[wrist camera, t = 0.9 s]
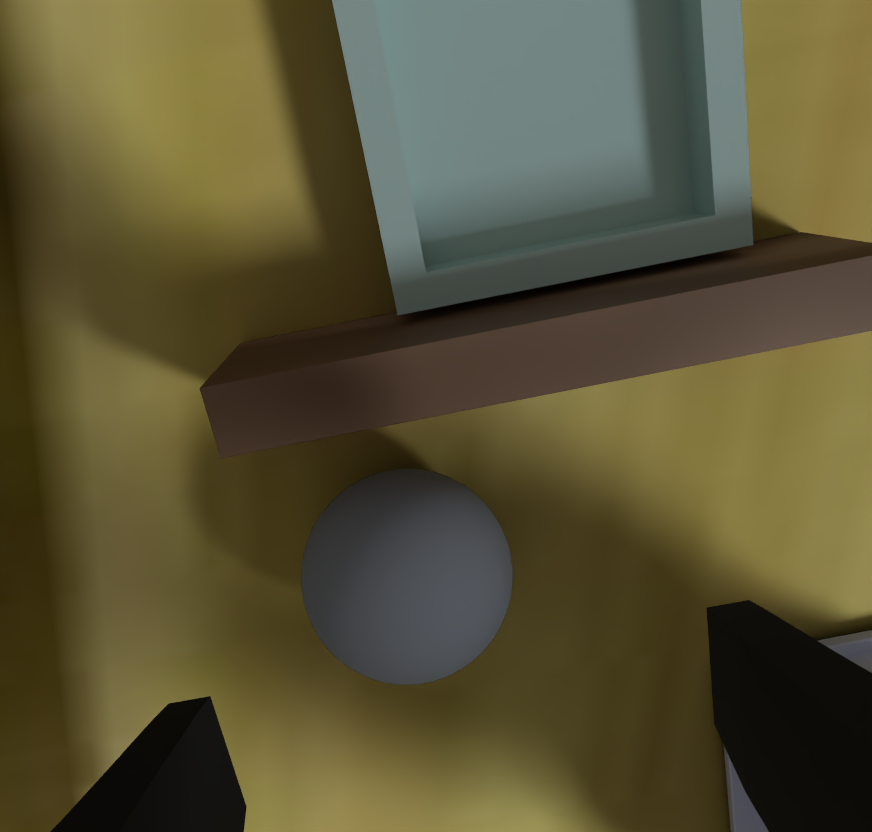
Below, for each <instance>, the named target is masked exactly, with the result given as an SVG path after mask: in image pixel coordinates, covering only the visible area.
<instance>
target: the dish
mask: <svg viewBox="0 0 872 832" xmlns="http://www.w3.org/2000/svg"><path fill="white" fill-rule="evenodd" d="M332 3H333V7H334V12H335V17H336V22H337V27H338V31H339V36H340V41H341V46H342V51H343V55H344V60H345V65H346V70H347V75H348V79H349V84H350V89H351V94H352V99H353V103H354V108H355V113H356V118H357V123H358V127H359V132H360V137H361V142H362V147H363V151H364V156H365V161H366V166H367V171H368V175H369V180H370V185H371V190H372V195H373V199H374V204H375V209H376V214H377V219H378V224H379V228H380V233H381V238H382V243H383V248H384V252H385V257H386V262H387V267H388V272H389V276H390V281H391V286H392V291H393V296H394V300H395V305H396V310H397V315H402V314H407V313H412V312H417V311H422V310H427V309H432V308H437V307H442V306H447V305H452V304H457V303H462V302H468V301H473V300H478V299H483V298H488V297H493V296H498V295H503V294H508V293H513V292H518V291H523V290H528V289H533V288H538V287H543V286H548V285H553V284H558V283H564V282H569V281H574V280H579V279H584V278H589V277H594V276H599V275H604V274H609V273H614V272H619V271H624V270H629V269H634V268H639V267H644V266H649V265H655V264H660V263H665V262H670V261H675V260H680V259H685V258H690V257H695V256H700V255H705V254H710V253H715V252H720V251H725V250H730V249H735V248H740V247H745V246H751V245H753V227H752V208H751V188H750V169H749V149H748V130H747V111H746V91H745V72H744V52H743V33H742V14H741V0H332Z"/></svg>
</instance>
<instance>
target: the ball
mask: <svg viewBox="0 0 872 832" xmlns="http://www.w3.org/2000/svg"><path fill="white" fill-rule="evenodd" d="M512 579H513V570H512V560H511V554H510V550H509V546H508V542H507V540H506V537H505V535H504V532H503V530H502V528H501V526H500V524H499V522H498V520H497V519H496V517H495V515H494V514H493V512H492V511H491V510H490V509H489V508H488V506H487V505H486V504H485V503H484V502H483V500H482V499H480V498H479V497H478V496H477V495H476V494H475V493H474V492H473V491H471V490H470V489H469V488H467V487H466V486H464V485H463V484H461V483H459V482H457V481H455V480H454V479H452V478H450V477H447V476H444V475H442V474H439V473H436V472H432V471H428V470H421V469H395V470H387V471H384V472H380V473H376V474H373V475H371V476H368V477H366V478H364V479H362V480H360V481H358V482H356V483H354V484H353V485H351V486H349V487H348V488H347V489H345V490H344V491H343V492H341V493H340V494H339V495H338V496H337V497H336V498H335V499H334V500H332V501H331V503H330V504H329V505H328V506H327V508H326V509H325V510H324V511H323V513H322V514H321V515H320V516H319V518H318V520H317V521H316V523H315V525H314V527H313V529H312V531H311V534H310V536H309V538H308V541H307V544H306V547H305V551H304V555H303V561H302V571H301V586H302V594H303V600H304V604H305V609H306V611H307V614H308V617H309V619H310V622H311V624H312V626H313V628H314V630H315V632H316V634H317V635H318V637H319V638H320V640H321V641H322V642H323V644H324V645H325V646H326V647H327V649H328V650H329V651H330V652H331V653H332V654H333V655H334V656H335V657H336V658H337V659H338V660H339V661H341V662H342V663H343V664H344V665H346V666H347V667H349V668H351V669H352V670H354V671H356V672H357V673H359V674H361V675H364V676H366V677H368V678H370V679H374V680H377V681H380V682H384V683H390V684H399V685H415V684H422V683H428V682H432V681H436V680H439V679H442V678H444V677H447V676H449V675H451V674H453V673H455V672H457V671H459V670H460V669H462V668H463V667H465V666H466V665H468V664H469V663H471V662H472V661H473V660H474V659H475V658H476V657H478V656H479V655H480V654H481V653H482V652H483V651H484V649H485V648H486V647H487V646H488V645H489V643H490V642H491V641H492V639H493V638H494V636H495V635H496V633H497V632H498V630H499V628H500V626H501V624H502V622H503V620H504V617H505V614H506V612H507V609H508V606H509V602H510V597H511V592H512Z"/></svg>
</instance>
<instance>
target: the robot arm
mask: <svg viewBox="0 0 872 832" xmlns="http://www.w3.org/2000/svg"><path fill="white" fill-rule="evenodd" d="M707 620H708V635H709V650H710V665H711V680H712V695H713V710H714V724H715V726H716V728H717V731H718V733H719V735H720V738H721V740H722V742H723V744H724V756H725V768H726V780H727V792H728V805H729V817H730V829H731V832H872V630H870V631H864V632H859V633H854V634H849V635H844V636H838V637H833V638H828V639H823V640H815V639H813V638H812V637H810V636H808V635H807V634H805V633H803V632H802V631H800V630H799V629H797V628H795V627H794V626H792V625H790V624H789V623H787V622H785V621H784V620H782V619H780V618H779V617H777V616H775V615H774V614H772V613H770V612H769V611H767V610H765V609H764V608H762V607H760V606H759V605H757V604H755V603H753V602H751V601H750V600H747V601H742V602H736V603H731V604H725V605H719V606H714V607H708V608H707ZM245 815H246V804H245V801H244V798H243V795H242V792H241V789H240V786H239V783H238V780H237V777H236V774H235V770H234V767H233V764H232V761H231V758H230V755H229V752H228V749H227V746H226V743H225V740H224V737H223V734H222V731H221V728H220V725H219V722H218V719H217V715H216V712H215V709H214V706H213V703H212V700H211V697H210V696H209V697H203V698H198V699H192V700H187V701H181V702H175V703H170V704H168V705H167V706H166V707H165V708H164V709H163V710H162V711H161V712H160V713H159V714H158V715H157V716H156V717H155V718H154V719H153V720H152V721H151V722H150V724H149V725H148V726H147V727H146V728H145V729H144V730H143V731H142V732H141V733H140V734H139V736H138V737H137V738H136V739H135V740H134V741H133V742H132V743H131V744H130V746H129V747H128V748H127V749H126V750H125V751H124V752H123V753H122V755H121V756H120V757H119V758H118V759H117V760H116V761H115V762H114V763H113V765H112V766H111V767H110V768H109V769H108V770H107V771H106V772H105V773H104V774H103V776H102V777H101V778H100V779H99V780H98V781H97V782H96V783H95V784H94V785H93V787H92V788H91V789H90V790H89V791H88V792H87V793H86V794H85V795H84V796H83V797H82V799H81V800H80V801H79V802H78V803H77V804H76V805H75V806H74V807H73V808H72V809H71V811H70V812H69V813H68V814H67V815H66V816H65V817H64V818H63V819H62V820H61V821H60V822H59V823H58V824H57V825H56V827H55V828H54V829H53V830H52V831H51V832H244V824H245Z"/></svg>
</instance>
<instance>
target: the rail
mask: <svg viewBox="0 0 872 832" xmlns="http://www.w3.org/2000/svg"><path fill="white" fill-rule="evenodd" d="M867 331H872V243H869V242H862V241H856V240H849V239H842V238H836V237H829V236H823V235H816V234H810V233H803V232H800V233H795V234H790V235H785V236H780V237H775V238H770V239H765V240H759V241H754V242H753V245H751V246H745V247H740V248H735V249H730V250H725V251H720V252H715V253H710V254H705V255H700V256H695V257H690V258H685V259H680V260H675V261H670V262H665V263H660V264H655V265H649V266H644V267H639V268H634V269H629V270H624V271H619V272H614V273H609V274H604V275H599V276H594V277H589V278H584V279H579V280H574V281H569V282H564V283H558V284H553V285H548V286H543V287H538V288H533V289H528V290H523V291H518V292H513V293H508V294H503V295H498V296H493V297H488V298H483V299H478V300H473V301H468V302H462V303H457V304H452V305H447V306H442V307H437V308H432V309H427V310H422V311H417V312H412V313H407V314H402V315H397V312H396V313H391V314H386V315H381V316H376V317H370V318H365V319H360V320H355V321H350V322H345V323H340V324H335V325H330V326H325V327H320V328H315V329H310V330H305V331H300V332H295V333H290V334H285V335H280V336H274V337H269V338H264V339H259V340H254V341H249V342H244V343H240V344H239V345H238V346H237V347H236V349H235V350H234V351H233V352H232V353H231V354H230V355H229V356H228V357H227V359H226V360H225V361H224V362H223V363H222V364H221V365H220V366H219V367H218V368H217V370H216V371H215V372H214V373H213V374H212V375H211V376H210V377H209V378H208V380H207V381H206V382H205V383H204V384H203V385H202V386H201V387H200V391H201V394H202V398H203V401H204V404H205V408H206V411H207V414H208V417H209V421H210V424H211V427H212V431H213V434H214V437H215V440H216V444H217V447H218V450H219V454H220V457H221V458H225V457H230V456H235V455H240V454H245V453H250V452H255V451H261V450H266V449H271V448H276V447H281V446H286V445H291V444H296V443H301V442H306V441H312V440H317V439H322V438H327V437H332V436H337V435H342V434H347V433H352V432H357V431H363V430H368V429H373V428H378V427H383V426H388V425H393V424H398V423H403V422H408V421H413V420H419V419H424V418H429V417H434V416H439V415H444V414H449V413H454V412H459V411H464V410H470V409H475V408H480V407H485V406H490V405H495V404H500V403H505V402H510V401H515V400H521V399H526V398H531V397H536V396H541V395H546V394H551V393H556V392H561V391H566V390H572V389H577V388H582V387H587V386H592V385H597V384H602V383H607V382H612V381H617V380H622V379H628V378H633V377H638V376H643V375H648V374H653V373H658V372H663V371H668V370H673V369H679V368H684V367H689V366H694V365H699V364H704V363H709V362H714V361H719V360H724V359H730V358H735V357H740V356H745V355H750V354H755V353H760V352H765V351H770V350H775V349H780V348H786V347H791V346H796V345H801V344H806V343H811V342H816V341H821V340H826V339H831V338H837V337H842V336H847V335H852V334H857V333H862V332H867Z"/></svg>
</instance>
